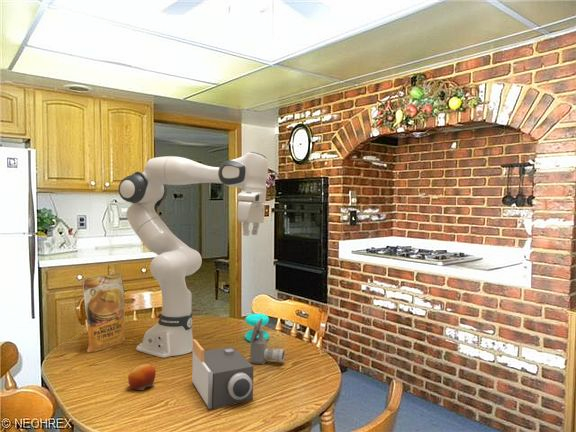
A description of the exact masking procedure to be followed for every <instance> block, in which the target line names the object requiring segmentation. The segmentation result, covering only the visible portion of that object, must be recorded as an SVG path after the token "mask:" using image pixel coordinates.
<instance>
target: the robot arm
mask: <svg viewBox="0 0 576 432" xmlns="http://www.w3.org/2000/svg"><path fill="white" fill-rule="evenodd" d="M268 178H269V161H268V158H267V157H266V155H263V154H261V153H259V152H255V151H249V152H246V153H245V154H243V155H242V156H240V157H237V158H234V159H229V160H228V159H227V160H225V161H223V162H222V163H221V164H220V166H217V167H216V166H209V165H206V164H203V163H200V162H197V161H196V160H195V161H194V160H192V159H189V158H187V157H181V156H174V155H170V156H169V155H167V156H157V157H153V158H150V159H148V161H147V162H146V163H145V167H144V171H143V172H141V171H136V172H134V173H132V174H129V175H128V176H127V175H126V176H125V177H124V178H122V179H121V180H120V182H119V184H118V194H119V196H120V198H121V199H122V200H123V201H125V202H127V203H131V205H130V206H129V207H128V208H127V211H126V213H125V214H126V218H127V221H128V223H129V225H130V226H131V228H132V230H133V231H134V233H135V234H136V236H137V237H138V239H139V240H140V241H141V242H142V243H143V245H144V246H145V248H146V249H147V250H148V251H150V252H152V253H153V254H156V256H155V257H153V258H152V260H151V262H150V265H149V270H150V274H151V276H152V277H153V278H154V279H155V280H156V281H157V282H158V285H159V289H160V292H161V302H162V304H161V305H162V306H161V308H162V309H161V313H159V315H156V316H155V317H156V318H155V320H158V321H157V323H155V324H154V325H153V326H151V327H150V328H149V329H148V330H146V332H145V333H144V336H143V338H142V342H140V343H139V344H138V345H137V346H136V349H135V350H136V351H138V352H141V353H143V354H144V353H145V354H148V355H152V356H155V357H159V358H169V357H174V356H182V355H186V354H188V353H191V352H193V339H194V336H193V318H194V316H193V312H192V300H193V297H192V296H193V295H192V292H191V290H189V288H188V287H187V283H186V277H187V276H191V275H193V274H194V273H196V272H197V271H198V270H199V269H200V268H201V266H202V262H203V259H202V255H201V254H200V252H199V251H198V250H196V249H194V248H192V247H190V246H188V245H187V244H186V243H184V241H182V240H181V239H180V238H178V237H177V236H176V235H175V234H174V233H173V232H172V231H171V230H170V228H169V227H168V226H167V225H166V223H165V222H164V221H163V220H162V218H161V216H159V214H158V213H157V212H156V209H155V208H159V207H160V206H161V205H162V202H163V201H164V200H166V197H167V195H168V194H169V189H168V187H169V186H168V185H170V186H184V185H194V184H195V185H196V184H204V183H205V184H206V183H207V184H211V183H212V184H213V183H214V184H223V185H225V186H227V187H232V188H237V189H240V190H241V191H240V192H239V193H238V194H237V198H236V199H237V200H238V204H237V221H238V222H239V223H242V230H243V232H242V236H245V237H247V236H250V229H249V227H250V224H251V223H252V229H251V235H252V236H256V235H258V232H259V228H260V224H263V223H264V221H265V208H266V207H265V204H266V203H267V202H266V201H267V182H268Z"/></svg>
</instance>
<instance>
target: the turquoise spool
mask: <svg viewBox="0 0 576 432" xmlns="http://www.w3.org/2000/svg"><path fill="white" fill-rule="evenodd" d="M261 318H262V319H263V320H262V324H261V327H262V326H263V327H264V326H266V325H267V324H269V322H270V317H269V316H268V315H266V314H263V313H252V314H248V315H247V316H246V317H245V323H246V324H247V325H249V326H251V327H255V324H256V323H257V322H258V321H259V320H260V319H261ZM253 330H254V328H253V329H250V330H248V331H246V333H245V335H244V337H245V339H246V341H248V342H250V340H251V337H252V333H253ZM256 338H259V334H258V336H257V337H256ZM264 338H265V339H266V340H267V341H268V339H269V333H268V331H266V330H264Z"/></svg>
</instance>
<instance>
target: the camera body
mask: <svg viewBox="0 0 576 432" xmlns="http://www.w3.org/2000/svg"><path fill="white" fill-rule="evenodd" d="M204 362H205V364H206V365H207V366H208V368H209V369H210V370H211V372H213V389H212V408H211V409H219V408H223V407H228V406H231V405H236V404H240V403H244V402H248V401H253V400H254V365H253V363H250V362H249V361H248V359H247V358H246V357H244V356H243V355H242V354H241V353H240V352H239V351H238V350H237V348H235V347H234V346H227V347H226V346H225V347H219V348H213V349H208V350H204Z"/></svg>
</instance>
